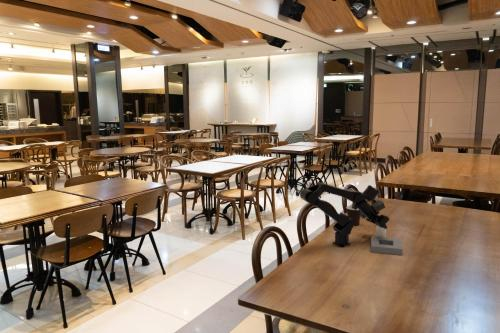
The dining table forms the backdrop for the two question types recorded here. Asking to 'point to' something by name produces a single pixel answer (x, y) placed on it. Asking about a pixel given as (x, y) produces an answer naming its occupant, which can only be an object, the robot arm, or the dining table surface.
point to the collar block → (386, 245)
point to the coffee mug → (353, 215)
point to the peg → (380, 232)
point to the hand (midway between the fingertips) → (383, 226)
